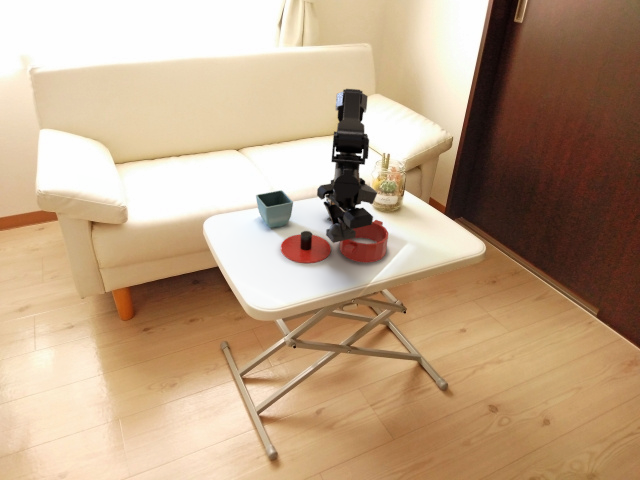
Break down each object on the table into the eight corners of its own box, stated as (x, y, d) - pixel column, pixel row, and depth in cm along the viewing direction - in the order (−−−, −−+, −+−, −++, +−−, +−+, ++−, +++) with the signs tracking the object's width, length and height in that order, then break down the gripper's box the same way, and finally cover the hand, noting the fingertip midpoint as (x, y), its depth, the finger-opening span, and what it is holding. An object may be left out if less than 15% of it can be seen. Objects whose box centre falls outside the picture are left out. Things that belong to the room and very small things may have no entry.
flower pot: (266, 233, 136) (266, 207, 131) (255, 220, 142) (255, 194, 137) (293, 228, 139) (293, 202, 134) (281, 214, 146) (282, 189, 141)
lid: (270, 252, 127) (270, 236, 124) (299, 232, 138) (300, 216, 134) (312, 271, 121) (313, 254, 118) (339, 248, 131) (341, 231, 128)
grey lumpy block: (333, 243, 116) (334, 228, 113) (325, 235, 119) (326, 221, 116) (355, 237, 118) (356, 223, 116) (347, 230, 121) (349, 216, 119)
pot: (325, 257, 127) (327, 238, 124) (358, 229, 140) (360, 211, 137) (367, 274, 121) (370, 254, 118) (396, 244, 135) (400, 225, 131)
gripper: (395, 190, 106) (386, 245, 114) (355, 159, 119) (350, 211, 128) (354, 198, 101) (348, 255, 110) (317, 165, 115) (314, 218, 123)
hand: (341, 233), depth 118 cm, fingers closed on grey lumpy block, 4 cm apart
